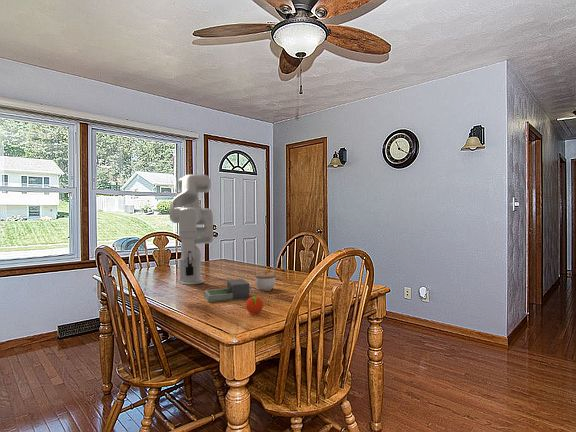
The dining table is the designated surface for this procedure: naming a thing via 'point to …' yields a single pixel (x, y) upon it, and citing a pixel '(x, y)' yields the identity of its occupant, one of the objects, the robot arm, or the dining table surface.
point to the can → (183, 271)
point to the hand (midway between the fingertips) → (188, 273)
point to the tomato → (254, 305)
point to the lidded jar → (265, 281)
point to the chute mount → (229, 291)
